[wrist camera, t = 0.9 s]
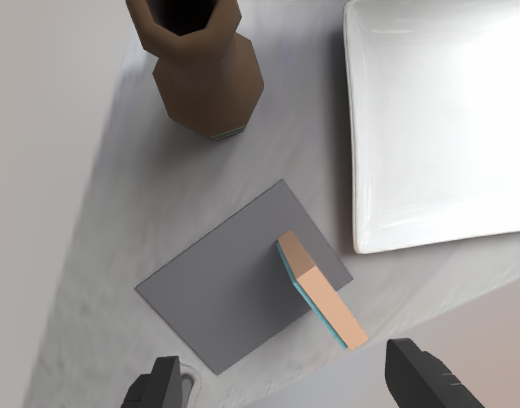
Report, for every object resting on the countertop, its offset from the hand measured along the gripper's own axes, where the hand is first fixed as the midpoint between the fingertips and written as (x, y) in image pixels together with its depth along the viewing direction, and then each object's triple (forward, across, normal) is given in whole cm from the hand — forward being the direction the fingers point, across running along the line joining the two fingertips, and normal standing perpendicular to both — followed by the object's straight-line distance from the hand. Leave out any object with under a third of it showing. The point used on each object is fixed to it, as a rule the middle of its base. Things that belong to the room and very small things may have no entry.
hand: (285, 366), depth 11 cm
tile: (+24, -6, +6) cm, 26 cm away
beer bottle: (+25, +3, -12) cm, 28 cm away
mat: (+24, +1, +9) cm, 26 cm away
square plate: (+26, -24, -10) cm, 36 cm away
